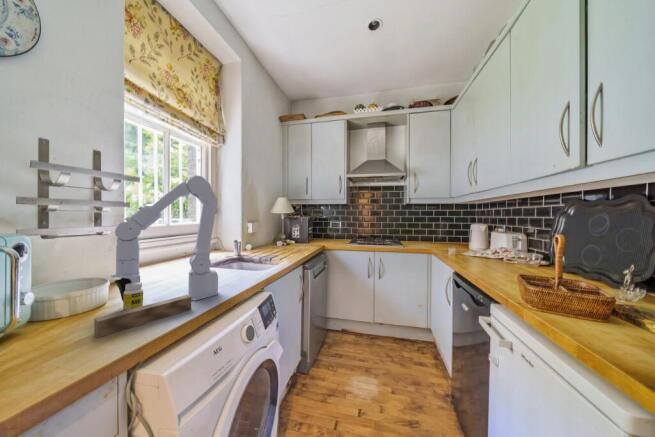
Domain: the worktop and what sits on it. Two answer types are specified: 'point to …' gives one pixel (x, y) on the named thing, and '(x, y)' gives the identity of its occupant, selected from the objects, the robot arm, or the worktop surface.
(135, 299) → the supplement bottle
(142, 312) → the walnut board
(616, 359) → the worktop surface
